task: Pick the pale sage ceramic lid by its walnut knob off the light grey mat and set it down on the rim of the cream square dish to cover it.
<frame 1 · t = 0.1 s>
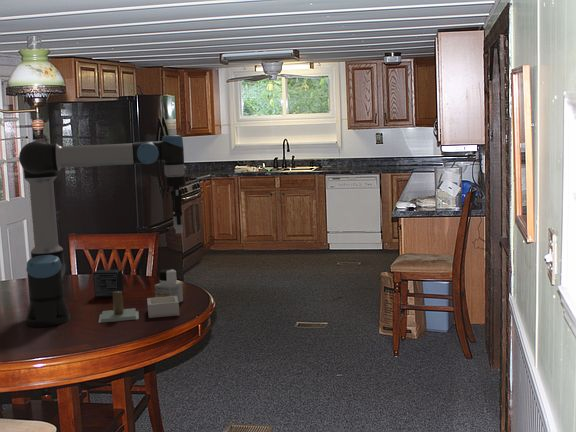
hand: (178, 230, 298), 28 cm above the table, fingers open, 13 cm apart
lid: (119, 316, 282), resting on mat
mat: (119, 317, 282), on the table
container: (169, 303, 301), on the table
small box: (109, 296, 318), on the table
dish: (163, 313, 285), on the table
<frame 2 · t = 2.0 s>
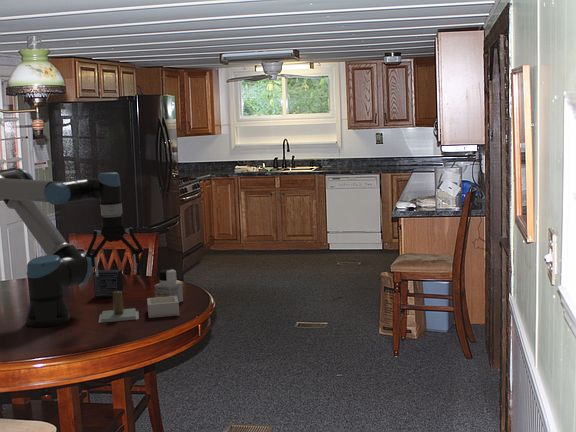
hand: (116, 274, 279), 16 cm above the table, fingers open, 13 cm apart
nothing on the table moved.
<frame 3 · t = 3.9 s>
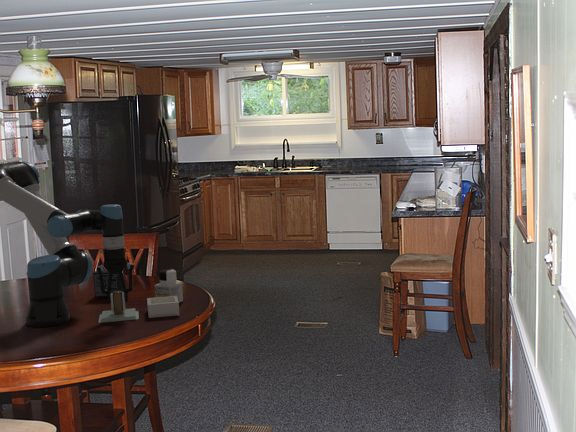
hand: (118, 311, 281), 2 cm above the table, fingers closed on lid, 3 cm apart
lid: (119, 316, 282), resting on mat, touching gripper
everything else where it was.
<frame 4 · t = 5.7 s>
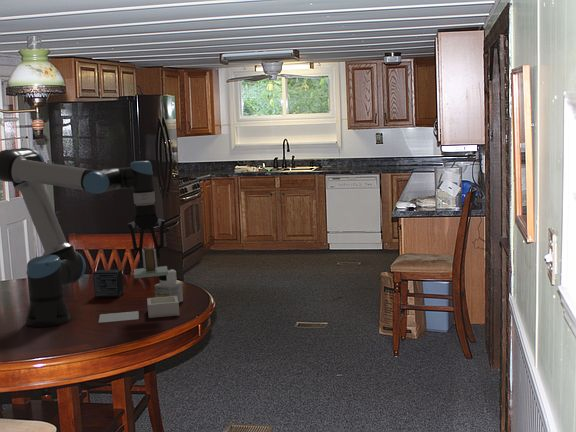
hand: (150, 267, 281), 17 cm above the table, fingers closed on lid, 3 cm apart
lid: (151, 273, 281), point 15 cm above the table, touching gripper
everything else where it was.
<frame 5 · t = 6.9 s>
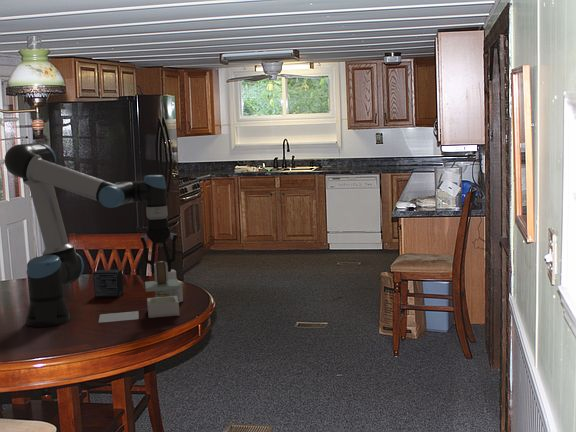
hand: (161, 281, 283), 12 cm above the table, fingers closed on lid, 3 cm apart
lid: (162, 286, 283), point 10 cm above the table, touching gripper
everything else where it was.
when the fingers open (9 cm above the table, at t = 7.7 s): lid drops 2 cm, resting on dish.
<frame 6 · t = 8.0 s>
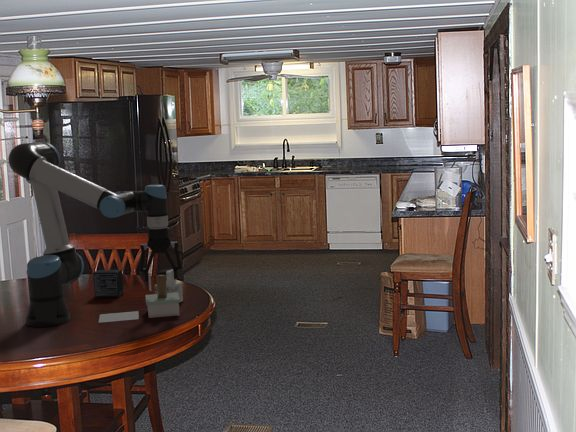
hand: (161, 289, 283), 9 cm above the table, fingers open, 8 cm apart
lid: (162, 300, 284), point 5 cm above the table, touching dish
everything else where it was.
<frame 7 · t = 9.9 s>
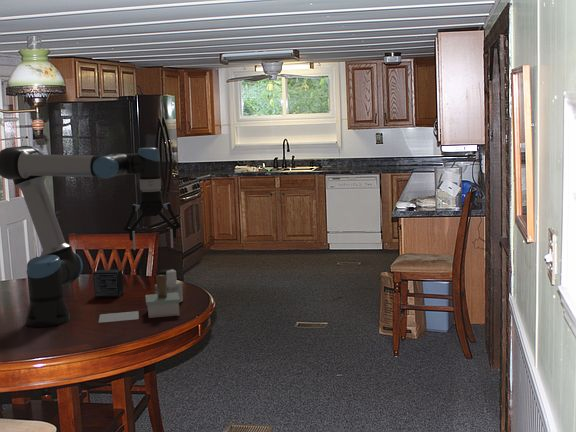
hand: (153, 248, 283), 24 cm above the table, fingers open, 13 cm apart
nothing on the table moved.
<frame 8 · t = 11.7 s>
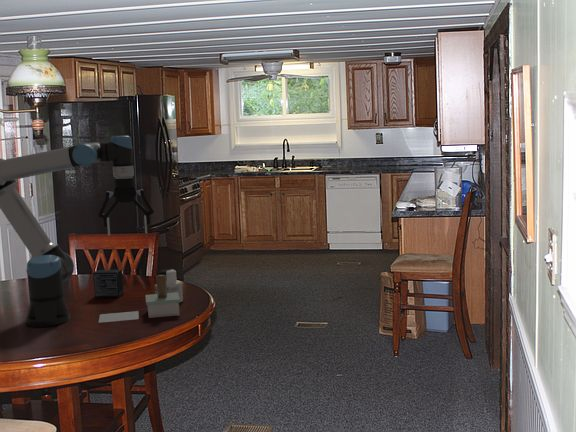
hand: (127, 234, 290), 29 cm above the table, fingers open, 13 cm apart
nothing on the table moved.
at the end: lid 0.0 cm off-centre on the dish, point 5.0 cm above the dish's base; lid tilted 0°; the gripper is holding nothing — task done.
